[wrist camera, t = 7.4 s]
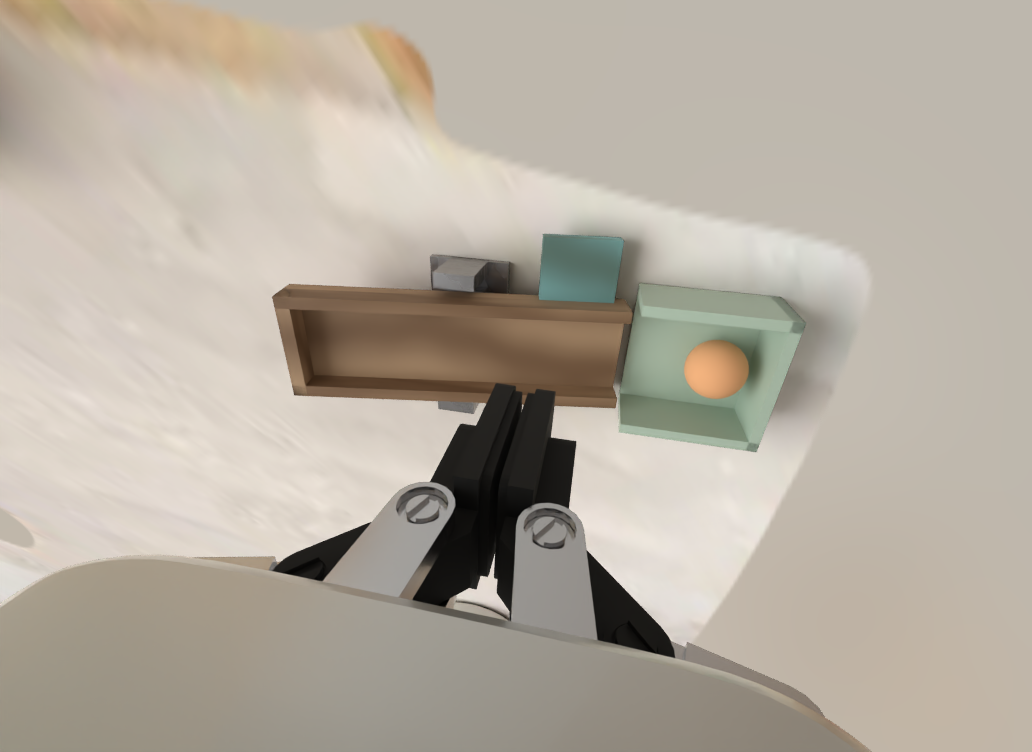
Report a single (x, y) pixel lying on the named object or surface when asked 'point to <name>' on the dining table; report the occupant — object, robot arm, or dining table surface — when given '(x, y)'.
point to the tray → (668, 341)
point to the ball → (716, 369)
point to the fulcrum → (467, 278)
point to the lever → (464, 334)
